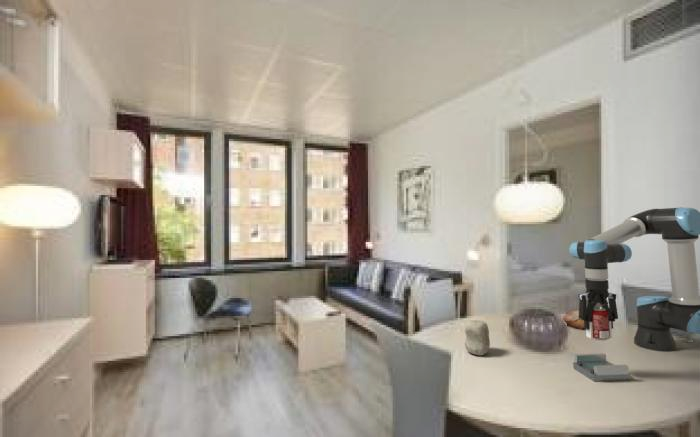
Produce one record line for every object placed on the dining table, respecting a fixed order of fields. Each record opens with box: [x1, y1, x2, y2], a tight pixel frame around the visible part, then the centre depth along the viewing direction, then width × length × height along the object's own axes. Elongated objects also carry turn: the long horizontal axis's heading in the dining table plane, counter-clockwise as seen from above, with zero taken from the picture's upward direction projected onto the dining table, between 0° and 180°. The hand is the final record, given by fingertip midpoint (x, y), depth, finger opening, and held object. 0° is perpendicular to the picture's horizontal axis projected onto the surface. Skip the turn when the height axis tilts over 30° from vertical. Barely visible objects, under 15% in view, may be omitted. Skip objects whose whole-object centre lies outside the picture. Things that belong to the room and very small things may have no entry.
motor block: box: [572, 352, 631, 382], centre depth 140 cm, size 14×13×6 cm
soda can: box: [590, 305, 611, 341], centre depth 140 cm, size 7×7×12 cm
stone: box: [464, 319, 491, 356], centre depth 166 cm, size 11×11×15 cm
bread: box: [562, 308, 586, 331], centre depth 200 cm, size 16×20×10 cm
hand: (599, 337), depth 140 cm, fingers closed on soda can, 7 cm apart
